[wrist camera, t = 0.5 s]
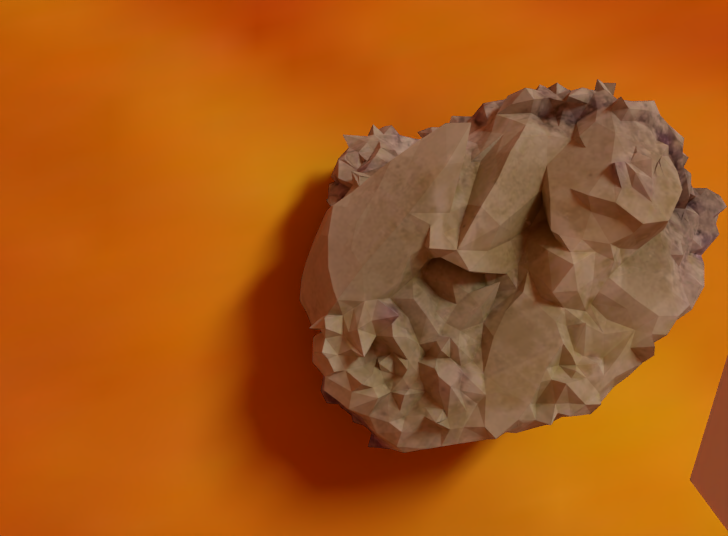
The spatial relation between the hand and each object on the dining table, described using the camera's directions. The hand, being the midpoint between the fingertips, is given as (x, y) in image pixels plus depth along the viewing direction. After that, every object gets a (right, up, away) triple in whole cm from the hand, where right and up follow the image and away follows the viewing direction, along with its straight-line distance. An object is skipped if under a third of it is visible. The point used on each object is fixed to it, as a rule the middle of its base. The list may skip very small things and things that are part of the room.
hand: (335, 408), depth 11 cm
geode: (+5, +3, +19) cm, 20 cm away
